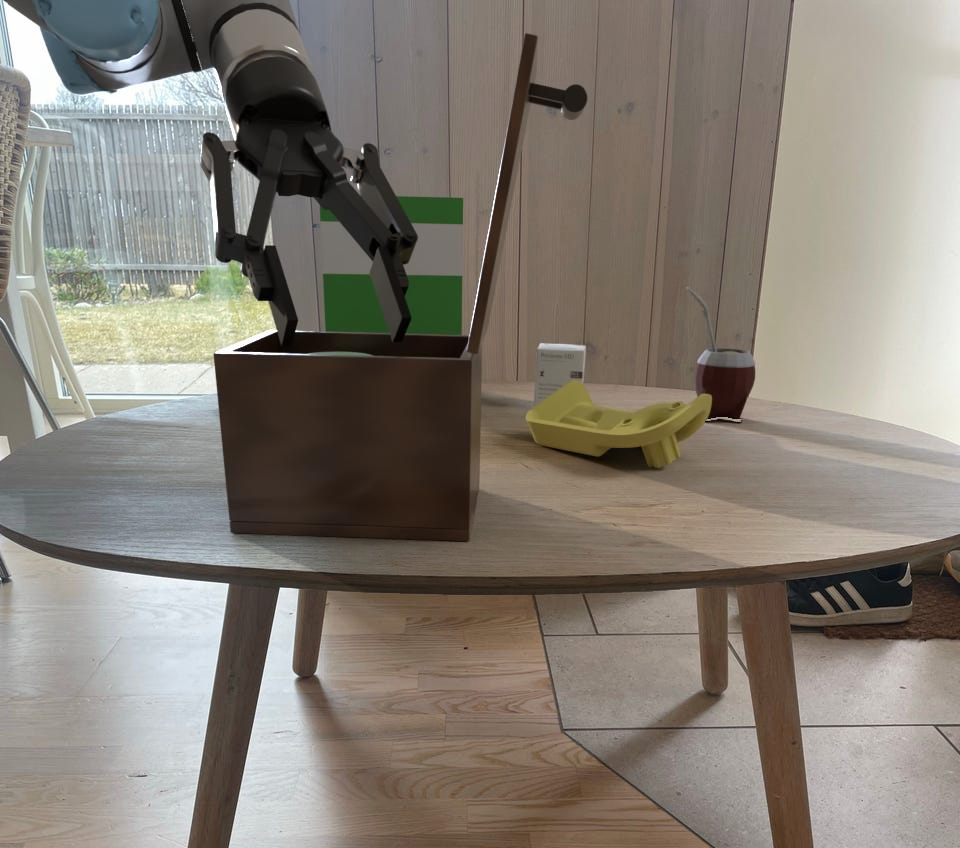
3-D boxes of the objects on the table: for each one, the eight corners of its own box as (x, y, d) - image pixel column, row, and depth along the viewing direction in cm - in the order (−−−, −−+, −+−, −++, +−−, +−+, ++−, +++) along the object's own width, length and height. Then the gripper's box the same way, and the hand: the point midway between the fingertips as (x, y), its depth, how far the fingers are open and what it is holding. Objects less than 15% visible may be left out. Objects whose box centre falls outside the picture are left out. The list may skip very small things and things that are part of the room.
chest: (230, 533, 69) (212, 353, 63) (279, 481, 82) (268, 329, 77) (469, 541, 68) (472, 360, 63) (479, 488, 81) (482, 335, 76)
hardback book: (328, 395, 122) (319, 194, 112) (330, 386, 129) (321, 195, 119) (460, 395, 124) (463, 197, 114) (456, 386, 131) (457, 199, 121)
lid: (525, 32, 55) (600, 49, 55) (526, 69, 68) (586, 83, 68) (466, 352, 62) (532, 366, 63) (477, 328, 76) (532, 340, 76)
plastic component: (516, 419, 97) (583, 370, 101) (540, 478, 101) (604, 430, 105) (646, 441, 82) (720, 383, 85) (668, 509, 86) (739, 452, 89)
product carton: (533, 408, 116) (535, 347, 113) (536, 400, 122) (539, 342, 119) (581, 410, 116) (585, 349, 113) (582, 402, 121) (586, 343, 118)
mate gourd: (759, 420, 113) (779, 288, 106) (722, 427, 108) (740, 290, 102) (708, 410, 118) (724, 284, 111) (670, 417, 113) (684, 286, 107)
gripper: (381, 143, 80) (459, 359, 74) (133, 126, 72) (197, 370, 65) (405, 64, 74) (492, 294, 68) (134, 36, 65) (206, 296, 59)
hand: (347, 331), depth 66 cm, fingers open, 8 cm apart
